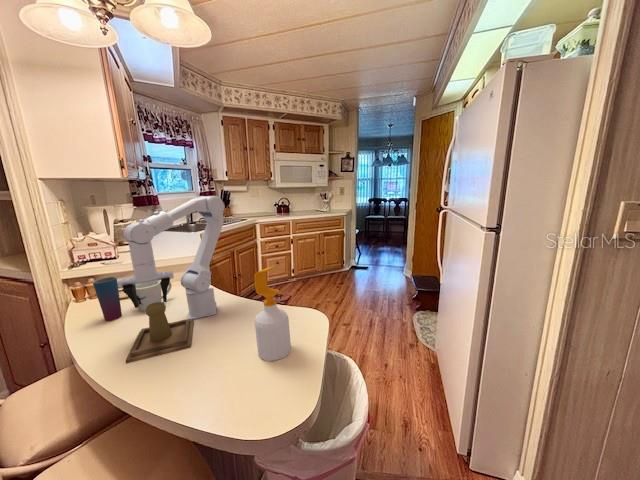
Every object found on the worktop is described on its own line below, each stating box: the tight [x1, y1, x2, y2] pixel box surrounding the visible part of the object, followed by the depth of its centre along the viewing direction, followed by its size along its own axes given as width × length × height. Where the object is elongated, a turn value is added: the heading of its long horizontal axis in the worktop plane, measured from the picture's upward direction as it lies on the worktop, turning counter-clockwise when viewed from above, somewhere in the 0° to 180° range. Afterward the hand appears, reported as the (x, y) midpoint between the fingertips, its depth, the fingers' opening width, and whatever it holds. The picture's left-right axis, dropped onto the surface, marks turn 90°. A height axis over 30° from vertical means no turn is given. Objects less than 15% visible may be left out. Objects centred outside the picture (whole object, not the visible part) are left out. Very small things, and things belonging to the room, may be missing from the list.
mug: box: [135, 280, 172, 312], centre depth 106 cm, size 10×15×10 cm
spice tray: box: [125, 318, 195, 364], centre depth 82 cm, size 16×16×2 cm
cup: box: [92, 275, 123, 322], centre depth 97 cm, size 7×7×15 cm
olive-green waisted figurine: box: [145, 301, 172, 342], centre depth 81 cm, size 6×6×11 cm
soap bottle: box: [253, 265, 292, 362], centre depth 71 cm, size 9×9×25 cm
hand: (151, 303), depth 84 cm, fingers open, 7 cm apart
